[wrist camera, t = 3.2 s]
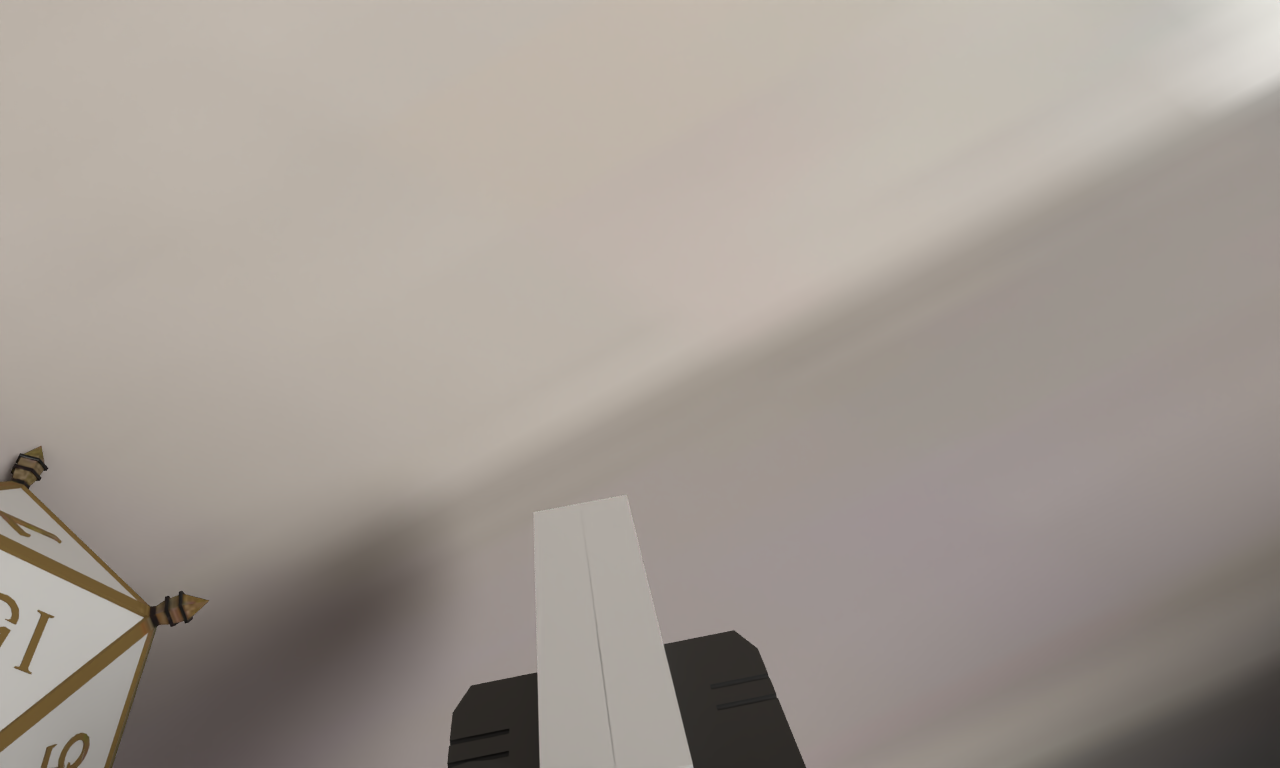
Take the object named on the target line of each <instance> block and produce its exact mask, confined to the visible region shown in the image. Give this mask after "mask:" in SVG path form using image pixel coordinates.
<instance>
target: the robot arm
mask: <svg viewBox="0 0 1280 768" xmlns="http://www.w3.org/2000/svg"><path fill="white" fill-rule="evenodd" d="M533 516H534V556H535V595H536V635H537V673H532V674H527V675H522V676H517V677H512V678H507V679H502V680H497V681H492V682H487V683H482V684H477V685H472V686H471V687H470V688H469V690H468V691H467V693H466V694H465V696H464V697H463V698H462V700H461V701H460V703H459V704H458V706H457V707H456V709H455V710H454V712H453V716H452V725H451V735H450V745H451V746H449V753H448V762H447V764H448V768H806V766H805V764H804V761H803V759H802V756H801V754H800V752H799V749H798V747H797V744H796V742H795V739H794V737H793V734H792V732H791V729H790V727H789V724H788V722H787V720H786V717H785V715H784V712H783V710H782V707H781V705H780V702H779V700H778V698H777V697H776V692H775V690H774V687H773V685H772V683H771V680H770V678H769V677H768V673H767V670H766V668H765V665H764V663H763V660H762V658H761V655H760V653H759V651H758V648H756V647H755V646H754V645H752V644H751V643H750V642H748V641H747V640H746V639H744V638H743V637H742V636H741V635H739V634H738V633H737V632H735V631H734V630H733V631H728V632H723V633H718V634H713V635H708V636H703V637H698V638H693V639H688V640H683V641H678V642H673V643H668V644H663V641H662V637H661V632H660V628H659V624H658V620H657V616H656V612H655V608H654V604H653V600H652V596H651V592H650V588H649V584H648V579H647V575H646V571H645V567H644V563H643V559H642V555H641V551H640V547H639V543H638V539H637V535H636V531H635V526H634V522H633V518H632V514H631V510H630V506H629V502H628V498H627V495H621V496H616V497H611V498H606V499H600V500H595V501H590V502H585V503H579V504H574V505H569V506H564V507H558V508H553V509H548V510H543V511H537V512H533Z"/></svg>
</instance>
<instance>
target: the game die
mask: <svg viewBox="0 0 1280 768" xmlns="http://www.w3.org/2000/svg"><path fill="white" fill-rule="evenodd" d="M16 463H17V464H14V466H13V469H12V471H11V474H13V476H12V480H11V481H4V482H0V768H112V766H113V762H114V759H115V756H116V753H117V750H118V747H119V744H120V741H121V737H122V734H123V731H124V728H125V725H126V722H127V719H128V716H129V712H130V709H131V706H132V703H133V700H134V697H135V694H136V691H137V688H138V684H139V681H140V678H141V675H142V672H143V669H144V666H145V663H146V659H147V656H148V653H149V650H150V647H151V644H152V641H153V638H154V635H155V631H156V628H157V626H158V625H164V624H170V626H171V627H172V626H175V625H176V624H178V623H179V622H182V621H184V622H185V623H188V622H190V621H191V620H192V619H193V617H192V616H193V615H194V614H195V613H197V612H198V611H199V610H200V609H201V608H202V607H203V606H204V605H205V604H206V603H207V602H208V601H209V600H205V599H201V598H197V597H193V596H189V595H185V594H184V593H183V591H180V592H179V595H178V596H175V597H172V598H170V597H169V596H167V597H165V601H163V602H162V603H160V604H159V605H157V606H153V607H150V606H149V605H148V604H147V603H146V602H145V601H144V600H143V599H142V598H141V597H140V596H139V595H138V594H136V593H135V592H134V591H133V590H132V589H131V588H130V587H129V586H128V585H127V584H126V583H125V582H124V581H123V580H122V579H121V578H120V577H119V576H118V575H117V574H116V573H115V572H114V571H113V570H112V569H111V568H110V567H108V566H107V565H106V564H105V563H104V562H103V561H102V560H101V559H100V558H99V557H98V556H97V555H96V554H95V553H94V552H93V551H92V550H91V549H90V548H89V547H88V546H87V545H86V544H85V543H84V542H83V541H82V540H80V539H79V538H78V537H77V536H76V535H75V534H74V533H73V532H72V531H71V530H70V529H69V528H68V527H67V526H66V525H65V524H64V523H63V522H62V521H61V520H60V519H59V518H58V517H57V516H56V515H55V514H54V513H52V512H51V511H50V510H49V509H48V508H47V507H46V506H45V505H44V504H43V503H42V502H41V501H40V500H39V499H38V498H37V497H36V496H35V495H34V494H33V493H32V492H31V491H30V490H29V487H30V485H31V484H33V483H34V482H35V481H40V480H41V477H40V475H41V473H42V472H43V471H47V469H48V468H47V466H46V465H45V464H44V458H43V452H42V447H41V446H40V447H38V448H36V449H34V450H32V451H29V452H27V453H25V454H21V453H20V455H19V457H18V459H17V461H16Z"/></svg>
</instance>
